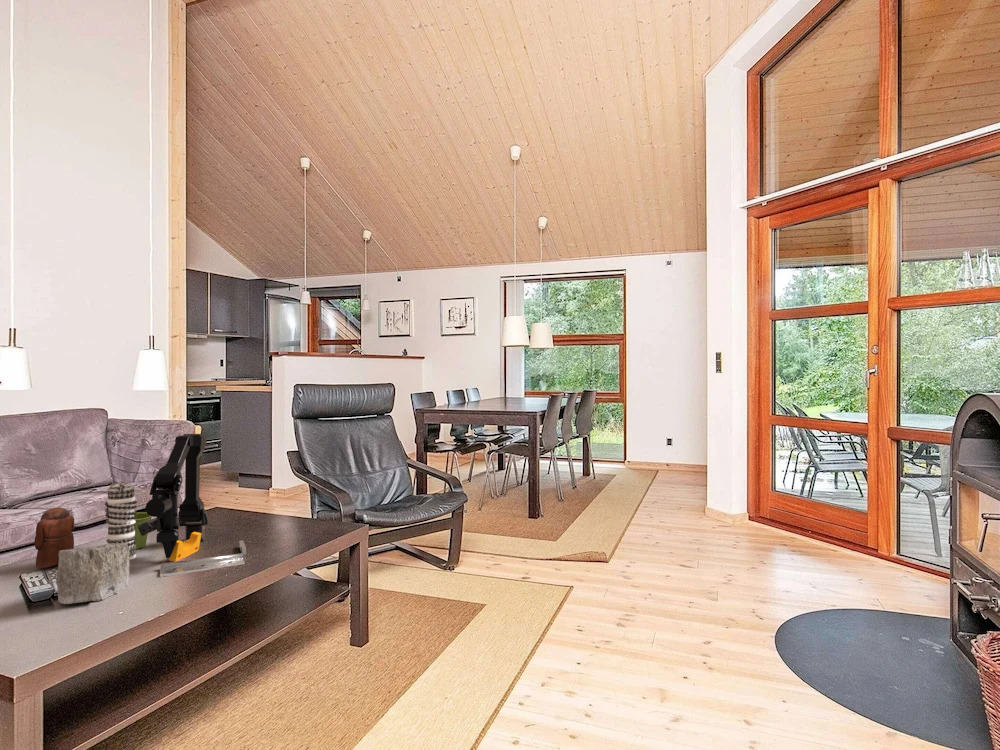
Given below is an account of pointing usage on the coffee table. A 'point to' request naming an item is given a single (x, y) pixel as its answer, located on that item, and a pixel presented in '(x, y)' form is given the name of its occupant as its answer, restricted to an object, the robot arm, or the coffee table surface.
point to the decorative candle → (121, 516)
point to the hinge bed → (203, 563)
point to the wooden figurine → (53, 536)
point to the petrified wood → (92, 573)
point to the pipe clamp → (186, 547)
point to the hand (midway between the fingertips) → (168, 557)
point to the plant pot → (139, 519)
